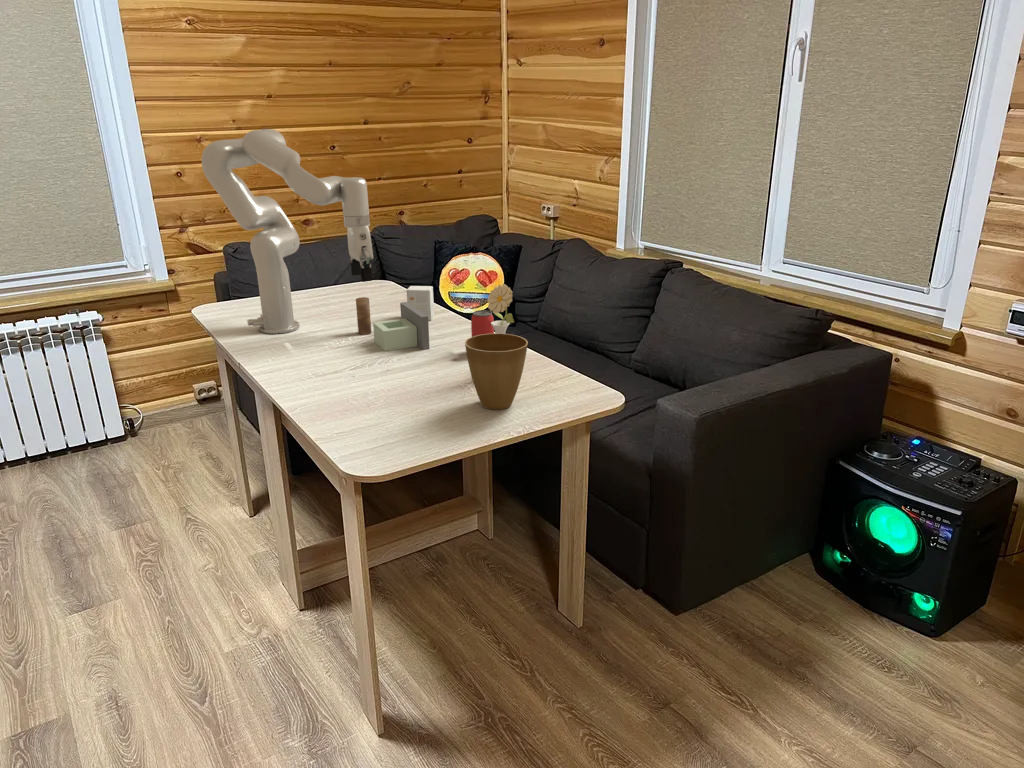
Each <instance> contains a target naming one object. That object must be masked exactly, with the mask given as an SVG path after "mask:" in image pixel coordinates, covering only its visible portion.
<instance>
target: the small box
mask: <svg viewBox="0 0 1024 768" xmlns="http://www.w3.org/2000/svg"><path fill="white" fill-rule="evenodd" d="M406 302H407V303H409V304H410V305H412V306H413V307H415V308H416V309H418V310H419V311H421V312H422V313H424V314H425V315H427V316H428V321H432V320H433V318H434V317H435V306H434V305H435V301H434V287H433V286H431V285H410V286H409V287H408V288H407V289H406Z"/></svg>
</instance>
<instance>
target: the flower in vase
mask: <svg viewBox="0 0 1024 768" xmlns="http://www.w3.org/2000/svg"><path fill="white" fill-rule="evenodd" d="M487 299H488V300H487V308H488V310H489V311H491V312H492V314H494V316H496V317H498V318H500V319H501V320H494V321H493V322H491V325H492V326H493V328H494V333H499V334H506V331H507V328H508V327H509V325H510V324H512V323H515V319H514V317H513V314H512V313H510V312H509V313H508V307H510V304H511V303H512V302H513V291H512V289H511V287H509V286H508V285H506V284H505V283H504V284H502V285H501V284H498V285H497V286H494V289H492V290H490V293H489V294H488V298H487ZM504 311H505V314H504V317H503V315H502V314H501V313H504Z"/></svg>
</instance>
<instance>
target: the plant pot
mask: <svg viewBox="0 0 1024 768" xmlns="http://www.w3.org/2000/svg"><path fill="white" fill-rule="evenodd" d="M528 345H529V342H528V340H527V339H526V338H524V337H522V336H519V335H515V334H512V333H511V334H509V333H505V334H499V333H495V332H494V334H482V335H477V336H473V337H472V336H471V337H468V338H467V339H466V340H465V341H464V346H465V352H466V357H467V361H468V362H467V363H468V368H469V371H470V376H471V379H472V383H473V385H474V389H475V391H476V392H475V393H476V394H477V397H478V399H479V402H480V404H481V406H482V407H483V408H485V409H488V410H505V409H508V408H510V407H511V406H512V404H513V402H514V399H515V398H516V397H515V396H516V394H517V391H518V389H519V386H520V383H521V379H522V375H523V370H524V367H525V362H526V356H527V350H528Z"/></svg>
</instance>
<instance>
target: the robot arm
mask: <svg viewBox="0 0 1024 768" xmlns="http://www.w3.org/2000/svg"><path fill="white" fill-rule="evenodd" d="M258 164H260V165H263V166H264V167H265V168H267V169H269V170H270V171H271V172H273V173H275V174H277V175H278V176H280V177H281V178H282V179H283V180H284V182H285V183H286V185H287V186H288V188H289V189H290V190H291V191H293V192H294V194H296V195H298V196H299V197H301V198H303V199H305V200H306V201H308V202H310V204H313V205H316V206H327V205H330V204H334V203H336V204H337V203H338V202H341V204H342V205H341V206H342V215H343V226H344V228H346V229H347V230H346V232H347V235H346V236H347V247H348V255H349V256H350V269H351V276H353V277H354V276H360V281H361V282H362V283H363V282H364V283H365V282H372V281H373V275H372V274H373V273H372V264H371V263H372V260H373V259H374V254H373V253H374V252H373V244H372V238H371V232H370V226H371V222H370V210H369V209H370V208H369V195H368V193H369V192H368V183H367V180H366V179H365V178H363V177H357V176H355V177H353V176H352V177H345V176H344V177H343V176H339V175H331V176H326V177H325V176H324V177H319V178H318V177H316V176H315V175H313V174H311V172H309V171H306V169H304V168H303V167H302V166H301V165H300V164H301V156H300V154H299V153H298V151H295V150H294V149H292V148H291V147H289V146H288V145H287V142H286V139H285V137H284V136H283V134H281V133H280V132H279V131H278V130H276V129H272V128H266V129H254V130H251V131H248V132H247V133H246V134H244V136H243V137H241V138H233V139H231V138H230V139H220V140H215V141H212V142H210V143H209V144H208V145H206V147H205V148H204V149H203V152H202V155H201V168H202V171H203V174H204V176H205V177H206V180H207V181H208V182H209V183H210V185H211V186H212V188H213V189H214V190H215V191H216V193H217V194H218V195H219V196H220V198H221V200H222V201H223V203H224V205H225V206H226V208H227V209H228V211H229V212H230V214H231V215H232V216H233V218H234V219H235V221H236V222H237V224H238V225H239V226H240V228H242V229H243V230H245V231H254V230H259V229H263V230H261V231H258V232H257V233H255V234H254V235H253V237H252V238H251V241H250V245H249V247H250V253H251V255H252V258H253V262H254V266H255V270H256V275H257V276H256V277H257V283H258V290H259V291H258V292H259V299H260V307H261V314H260V315H259V317H257V318H255V319H254V318H250V319H247V320H246V321H247V325H248V326H249V327H251V326H253V327H258V330H259V332H261V333H264V334H272V335H273V334H275V335H276V334H277V335H278V333H279V334H286V333H291V332H294V331H296V330H298V329H299V328H300V322H299V321H297V320H295V319H294V318H295V316H294V310H293V309H294V308H293V302H292V301H293V299H292V290H291V283H290V275H289V274H290V273H289V270H288V266H287V265H286V263H285V261H284V258H285V257H288V256H291V255H292V254H295V253H296V252H298V250H299V247H300V245H301V244H300V243H301V241H300V237H299V236H300V235H299V234H298V232H297V230H296V228H295V227H294V225H293V223H292V221H291V220H290V218H289V217H288V216H287V214H286V213H285V211H284V210H283V208H282V206H281V205H280V204H279V203H278V202H277V200H275V199H273V198H272V197H270V196H266V195H258V196H254V194H253V193H252V192H251V190H250V189H249V187H248V185H247V184H246V182H245V181H244V180H243V179H242V178H241V177H240V176H239V175H237V174H236V173H235V172H234V169H239V168H247V167H251V166H254V165H258Z"/></svg>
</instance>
